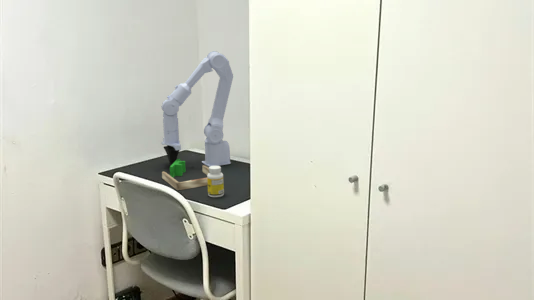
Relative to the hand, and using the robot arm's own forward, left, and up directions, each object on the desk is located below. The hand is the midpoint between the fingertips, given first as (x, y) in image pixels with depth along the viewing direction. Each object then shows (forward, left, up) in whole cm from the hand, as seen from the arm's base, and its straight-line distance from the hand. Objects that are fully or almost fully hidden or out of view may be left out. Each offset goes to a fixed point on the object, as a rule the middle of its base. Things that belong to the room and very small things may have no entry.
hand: (172, 164), depth 226 cm
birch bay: (0, +19, -1) cm, 19 cm away
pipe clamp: (+1, +10, -2) cm, 10 cm away
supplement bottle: (-1, +39, -1) cm, 39 cm away
